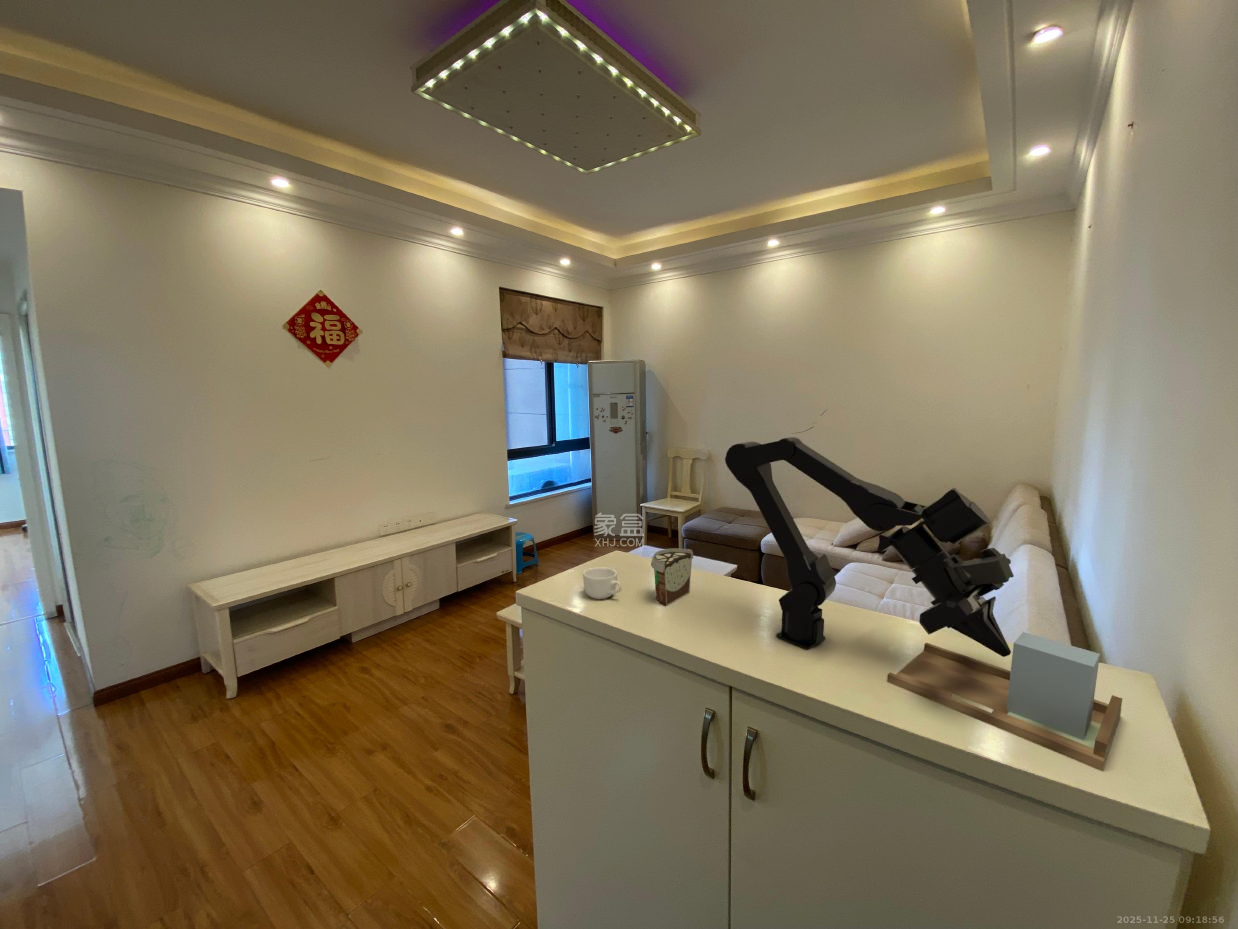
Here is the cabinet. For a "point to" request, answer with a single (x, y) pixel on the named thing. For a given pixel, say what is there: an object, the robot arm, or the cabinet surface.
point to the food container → (672, 574)
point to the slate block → (1053, 684)
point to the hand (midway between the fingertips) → (1007, 655)
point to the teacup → (600, 582)
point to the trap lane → (1002, 702)
